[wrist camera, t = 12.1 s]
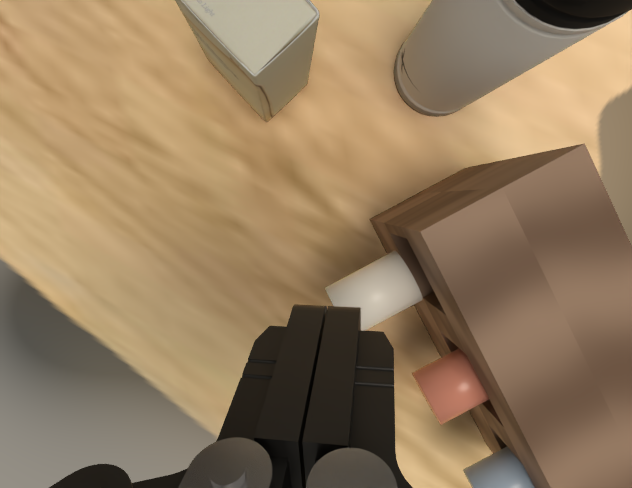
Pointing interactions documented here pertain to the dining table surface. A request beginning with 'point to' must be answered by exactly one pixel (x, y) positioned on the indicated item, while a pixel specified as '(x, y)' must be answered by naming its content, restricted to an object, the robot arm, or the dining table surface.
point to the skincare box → (257, 46)
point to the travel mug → (488, 45)
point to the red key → (450, 386)
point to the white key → (377, 290)
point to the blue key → (498, 472)
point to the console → (531, 307)
